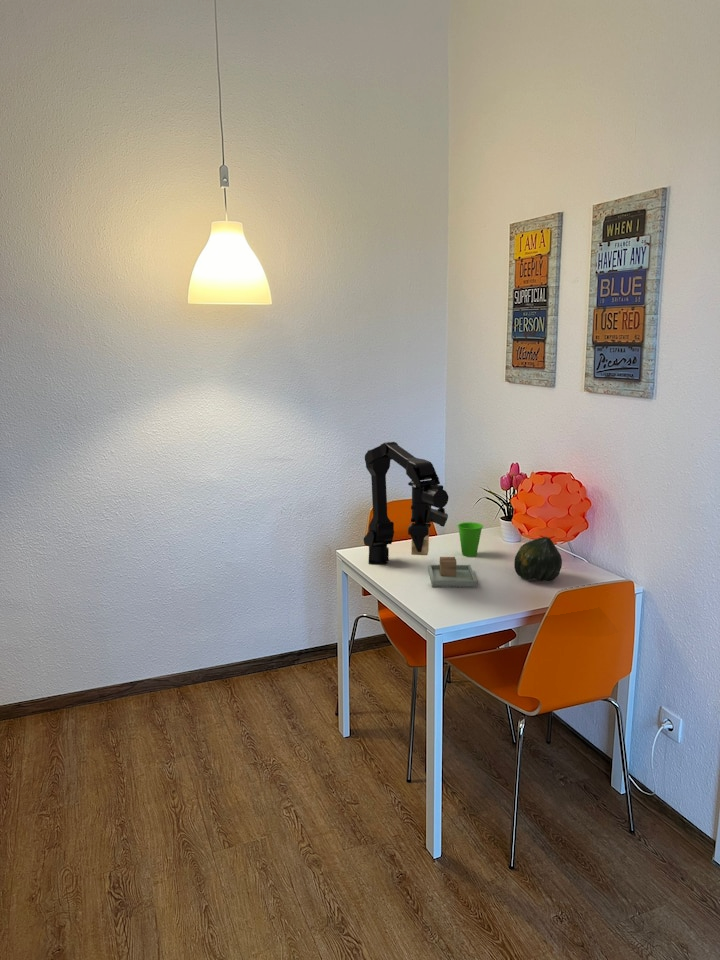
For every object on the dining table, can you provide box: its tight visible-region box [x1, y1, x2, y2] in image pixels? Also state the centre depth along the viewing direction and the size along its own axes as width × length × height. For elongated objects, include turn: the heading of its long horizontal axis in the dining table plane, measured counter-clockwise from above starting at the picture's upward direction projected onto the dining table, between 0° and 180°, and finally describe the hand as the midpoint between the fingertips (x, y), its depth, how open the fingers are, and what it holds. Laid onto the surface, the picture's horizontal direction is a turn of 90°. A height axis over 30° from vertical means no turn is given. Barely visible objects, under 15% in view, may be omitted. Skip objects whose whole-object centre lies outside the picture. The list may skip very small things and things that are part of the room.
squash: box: [513, 536, 563, 582], centre depth 225 cm, size 14×15×15 cm
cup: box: [457, 521, 484, 558], centre depth 250 cm, size 9×9×11 cm
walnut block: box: [439, 556, 458, 576], centre depth 229 cm, size 5×5×5 cm
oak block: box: [410, 535, 430, 556], centre depth 220 cm, size 5×5×5 cm
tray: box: [427, 564, 478, 588], centre depth 226 cm, size 14×16×2 cm
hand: (420, 549), depth 220 cm, fingers closed on oak block, 5 cm apart
